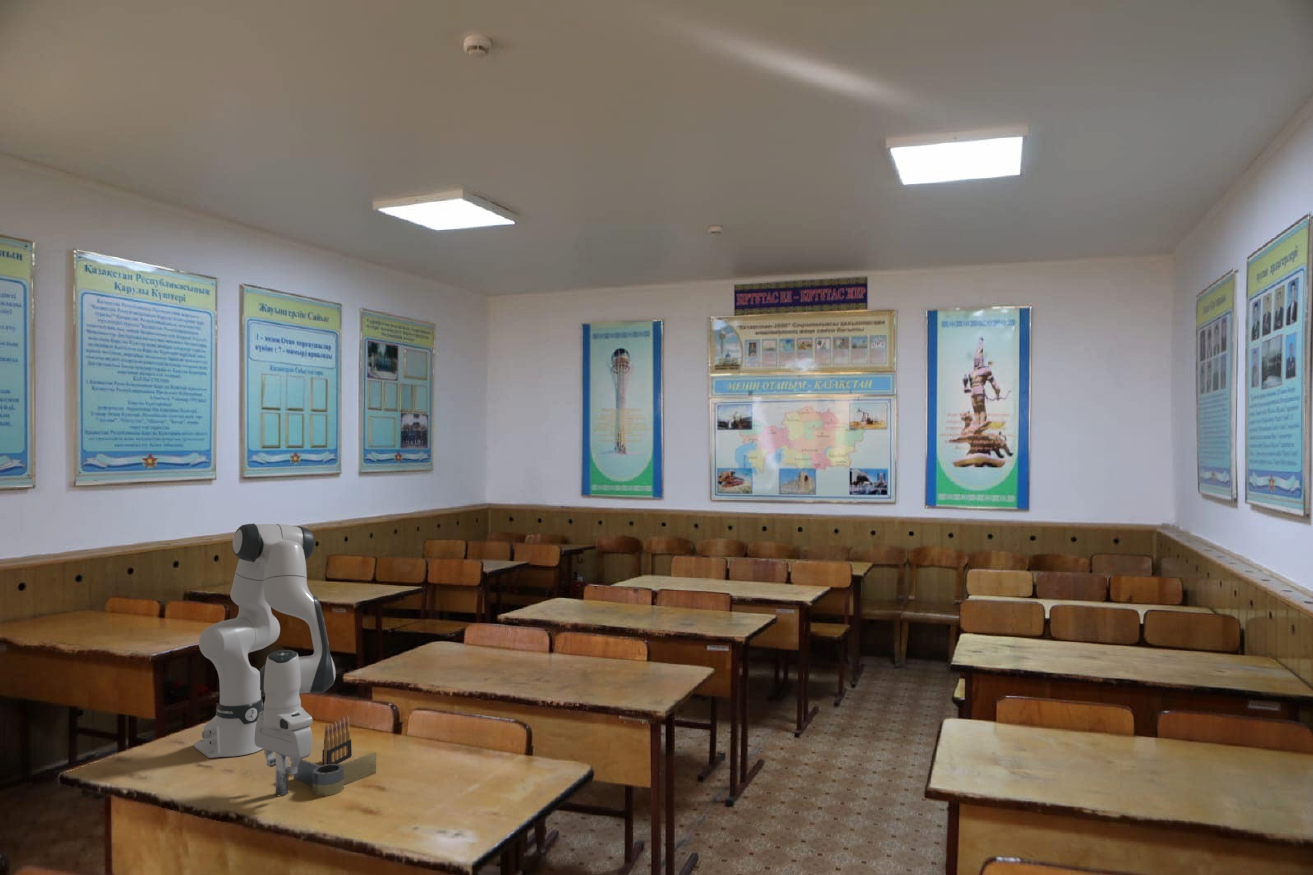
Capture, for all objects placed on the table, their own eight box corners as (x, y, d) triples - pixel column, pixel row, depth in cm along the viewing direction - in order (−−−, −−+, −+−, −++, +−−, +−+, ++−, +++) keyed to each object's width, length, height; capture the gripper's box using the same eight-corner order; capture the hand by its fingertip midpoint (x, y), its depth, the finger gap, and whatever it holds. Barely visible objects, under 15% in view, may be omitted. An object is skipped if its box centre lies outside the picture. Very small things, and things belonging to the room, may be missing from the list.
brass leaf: (306, 791, 222) (307, 770, 222) (366, 770, 237) (366, 750, 237) (324, 797, 217) (324, 776, 218) (383, 775, 233) (383, 755, 233)
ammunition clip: (327, 769, 238) (327, 725, 238) (321, 768, 238) (321, 725, 239) (351, 756, 248) (352, 714, 248) (346, 755, 249) (346, 714, 249)
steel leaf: (282, 782, 228) (282, 762, 228) (307, 774, 234) (307, 754, 234) (324, 797, 217) (324, 776, 218) (349, 788, 224) (349, 767, 224)
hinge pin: (273, 794, 220) (273, 747, 220) (283, 790, 223) (284, 743, 223) (279, 796, 218) (280, 749, 219) (290, 793, 221) (290, 746, 221)
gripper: (248, 712, 224) (247, 765, 224) (294, 725, 213) (293, 781, 212) (270, 706, 229) (270, 758, 229) (316, 718, 218) (316, 773, 218)
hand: (282, 769), depth 221 cm, fingers open, 8 cm apart
